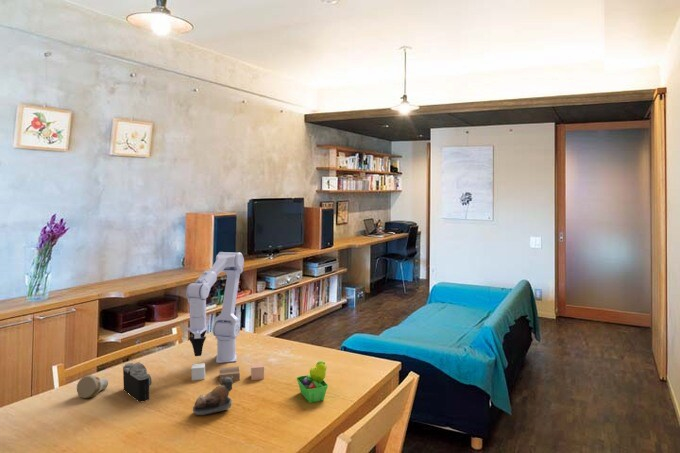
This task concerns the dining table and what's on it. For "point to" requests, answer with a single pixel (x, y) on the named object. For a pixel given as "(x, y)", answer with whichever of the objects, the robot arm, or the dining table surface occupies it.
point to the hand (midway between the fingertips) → (198, 352)
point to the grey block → (198, 371)
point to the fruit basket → (314, 383)
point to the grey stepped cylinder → (91, 386)
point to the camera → (136, 381)
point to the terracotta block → (257, 371)
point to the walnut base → (230, 373)
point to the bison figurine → (215, 399)
